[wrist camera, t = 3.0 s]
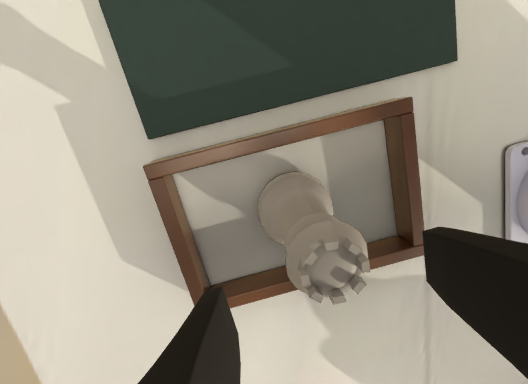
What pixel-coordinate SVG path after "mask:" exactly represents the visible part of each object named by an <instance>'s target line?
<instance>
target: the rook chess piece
mask: <svg viewBox="0 0 528 384" xmlns="http://www.w3.org/2000/svg"><path fill="white" fill-rule="evenodd" d="M257 209H258V214H259V219H260V222H261V224H262V227H263V228H264V230H265V231H266V232H267V234H268V235H269V236H270V238H272V239H273V240H275V241H277V242H278V243H280V244H282V245H283V246H285V250H286V255H287V256H286V261H285V264H286V269H287V274H288V277H289V279H290V280H291V281H292V283H293V284H294V286H295V287H296V288H297V289H299V290H301V291H302V292H304V293H306V294H308V295H309V296H310V298H312V299H314V300H316V301H317V302H319V303H321V301H322V300H323V298H324V297H330V299H331V301H332V303H333V305H334V304H339V303H343V302H346V299H345V297H344V295H343V293H344V292H346V291H348V290H349V289H351V288H352V289H353V290H354V291H355V292H356V293H357V294H359V293H360V291H361V290H362V289H363V288H364V287H365V285H366V283H365V282H364V281H363V279H362V278H361V276H362V275H363V273H364V272H370V264H369V259H368V252H367V244H366V242H365V240H364V239H363V237H362V235H361V234H360V232H359V231H358V230H356V229H355V228H353V227H352V226H350V225H349V224H347V223H344V222H341V221H339V220H338V219H336V218H335V217H333V208H332V200H331V197H330V195H329V194H328V192H327V191H326V189H325V187H324V186H323V185H322V184H321V182H320V181H318V180H317V179H315V178H314V177H312V176H311V175H309V174H305V173H299V172H291V173H286V174H282V175H279V176H278V177H276V178H275V179H273V180H272V181H270V182H269V183H268V184H267V186H266V187H265V188H264V190H263V191H262V193H261V194H260V198H259V203H258V208H257Z"/></svg>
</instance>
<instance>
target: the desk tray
mask: <svg viewBox="0 0 528 384" xmlns="http://www.w3.org/2000/svg"><path fill="white" fill-rule="evenodd" d="M380 120H384V123H385V132H386V140H387V148H388V157H389V165H390V173H391V182H392V190H393V198H394V207H395V215H396V223H397V232H398V236H394V237H390V238H387V239H383V240H379V241H376V242H372V243H368V244H367V252H368V259H369V264H370V270H371V269H375V268H379V267H382V266H386V265H390V264H393V263H397V262H400V261H404V260H408V259H411V258H415V257H419V256H422V255H424V246H423V236H422V231H424V221H423V210H422V199H421V188H420V177H419V166H418V155H417V144H416V133H415V122H414V113H413V100H412V97H406V98H397V99H392V100H388V101H384V102H380V103H376V104H372V105H368V106H364V107H361V108H357V109H353V110H349V111H345V112H341V113H337V114H333V115H329V116H326V117H322V118H318V119H314V120H310V121H306V122H302V123H298V124H294V125H291V126H287V127H283V128H279V129H275V130H271V131H267V132H263V133H260V134H256V135H252V136H248V137H244V138H240V139H236V140H232V141H228V142H225V143H221V144H217V145H213V146H209V147H205V148H201V149H197V150H193V151H190V152H186V153H182V154H178V155H174V156H170V157H166V158H162V159H159V160H155V161H152V162H150V163H148V164H146V165H144V166H143V168H144V171H145V174H146V176H147V179H148V180H149V181H148V182H149V185H150V188H151V190H152V193H153V196H154V198H155V201H156V204H157V207H158V209H159V212H160V215H161V217H162V220H163V223H164V225H165V228H166V231H167V233H168V236H169V239H170V241H171V244H172V247H173V249H174V252H175V255H176V257H177V260H178V263H179V265H180V268H181V271H182V274H183V276H184V279H185V282H186V284H187V287H188V290H189V292H190V295H191V298H192V300H193V303H194V306H195V305H196V304H197V302H198V300H199V299H200V297H201V296H202V294H203V293H204V292H205V291H206V290H210V289H213V288H217V287H221V286H222V287H223V290H224V293H225V296H226V299H227V302H228V305H229V308H233V307H237V306H240V305H244V304H247V303H251V302H255V301H258V300H262V299H266V298H269V297H273V296H277V295H280V294H284V293H288V292H291V291H295V290H298V289H297V288H296V287H295V286H294V284H293V283H292V281H291V280H290V279H289V277H288V274H287V269H286V266H284V267H280V268H276V269H273V270H269V271H265V272H262V273H258V274H254V275H250V276H247V277H243V278H239V279H236V280H232V281H228V282H225V283H221V284H217V285H214V286H210V284H209V281H208V278H207V275H206V273H205V270H204V267H203V264H202V261H201V258H200V255H199V252H198V249H197V247H196V244H195V241H194V238H193V235H192V232H191V229H190V226H189V223H188V221H187V218H186V215H185V212H184V209H183V206H182V203H181V200H180V197H179V195H178V192H177V189H176V186H175V183H174V180H173V177H172V174H175V173H179V172H183V171H187V170H191V169H195V168H198V167H202V166H206V165H210V164H214V163H218V162H222V161H225V160H229V159H233V158H237V157H241V156H245V155H249V154H252V153H256V152H260V151H264V150H268V149H272V148H276V147H279V146H283V145H287V144H291V143H295V142H299V141H303V140H306V139H310V138H314V137H318V136H322V135H326V134H330V133H333V132H337V131H341V130H345V129H349V128H353V127H357V126H360V125H364V124H368V123H372V122H376V121H380Z"/></svg>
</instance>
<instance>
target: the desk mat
mask: <svg viewBox="0 0 528 384" xmlns="http://www.w3.org/2000/svg"><path fill="white" fill-rule="evenodd" d="M99 3H100V6H101V9H102V12H103V14H104V17H105V20H106V23H107V26H108V28H109V31H110V34H111V37H112V40H113V42H114V45H115V48H116V51H117V54H118V56H119V59H120V62H121V65H122V68H123V70H124V73H125V76H126V79H127V82H128V84H129V87H130V90H131V93H132V96H133V98H134V101H135V104H136V107H137V110H138V112H139V115H140V118H141V121H142V124H143V126H144V129H145V132H146V135H147V138H148V139H153V138H157V137H161V136H164V135H168V134H172V133H176V132H180V131H184V130H188V129H192V128H196V127H200V126H204V125H208V124H211V123H215V122H219V121H223V120H227V119H231V118H235V117H239V116H243V115H247V114H251V113H255V112H259V111H262V110H266V109H270V108H274V107H278V106H282V105H286V104H290V103H294V102H298V101H302V100H306V99H309V98H313V97H317V96H321V95H325V94H329V93H333V92H337V91H341V90H345V89H349V88H353V87H357V86H360V85H364V84H368V83H372V82H376V81H380V80H384V79H388V78H392V77H396V76H400V75H404V74H407V73H411V72H415V71H419V70H423V69H427V68H431V67H435V66H439V65H443V64H447V63H451V62H454V61H457V38H456V16H455V0H99Z"/></svg>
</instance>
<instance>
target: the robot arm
mask: <svg viewBox="0 0 528 384" xmlns="http://www.w3.org/2000/svg"><path fill="white" fill-rule="evenodd" d="M522 150H523V152H522ZM422 236H423V246H424V257H425V268H426V278H427V282H428V283H429V284H430V286H431V287H432V288H433V289H434V290H435V292H436V293H437V294H438V295H439V296H440V297H441V298H442V300H443V301H444V302H445V303H446V304H447V305H448V306H449V307H450V308H451V309H452V310H453V311H454V312H455V313H456V314H457V315H459V316H460V317H461V318H462V319H463V320H464V321H465V322H466V323H467V324H468V325H469V326H471V327H472V328H473V329H474V330H475V331H476V332H477V333H478V334H479V335H481V336H482V337H483V338H484V339H485V340H486V341H487V342H488V343H489V344H491V345H492V346H493V347H494V348H495V349H496V350H497V351H498V352H499V353H500V354H502V355H503V356H504V357H505V358H506V359H507V360H508V361H509V362H510V363H512V364H513V365H514V366H515V367H516V368H517V369H518V370H519V371H520V372H521V373H522V374H523V375H524V376H525V377H526V378H527V379H528V141H526V142H522V143H518V144H514V145H512V146H510V147H509V148H508V149H507V150H506V154H505V239H502V238H497V237H493V236H488V235H483V234H478V233H473V232H468V231H463V230H458V229H452V228H445V227H436V228H432V229H429V230H425V231H422ZM240 368H241V362H240V349H239V337H238V332H237V329H236V326H235V323H234V320H233V317H232V314H231V311H230V308H229V305H228V302H227V299H226V296H225V293H224V290H223V287H222V286H221V287H217V288H213V289H210V290H206V291H205V292H204V293H203V294H202V296H201V297H200V299H199V300H198V302H197V304H196V305H195V307H194V308H193V310H192V311H191V313H190V314H189V316H188V317H187V319H186V320H185V322H184V323H183V325H182V326H181V328H180V329H179V331H178V332H177V334H176V335H175V336H174V338H173V339H172V341H171V342H170V343H169V345H168V346H167V347H166V349H165V350H164V351H163V353H162V354H161V355H160V357H159V358H158V359H157V361H156V362H155V363H154V365H153V366H152V367H151V368H150V370H149V371H148V372H147V373H146V374H145V376H144V377H143V378H142V379H141V381H140V382H139V383H138V384H240Z"/></svg>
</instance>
